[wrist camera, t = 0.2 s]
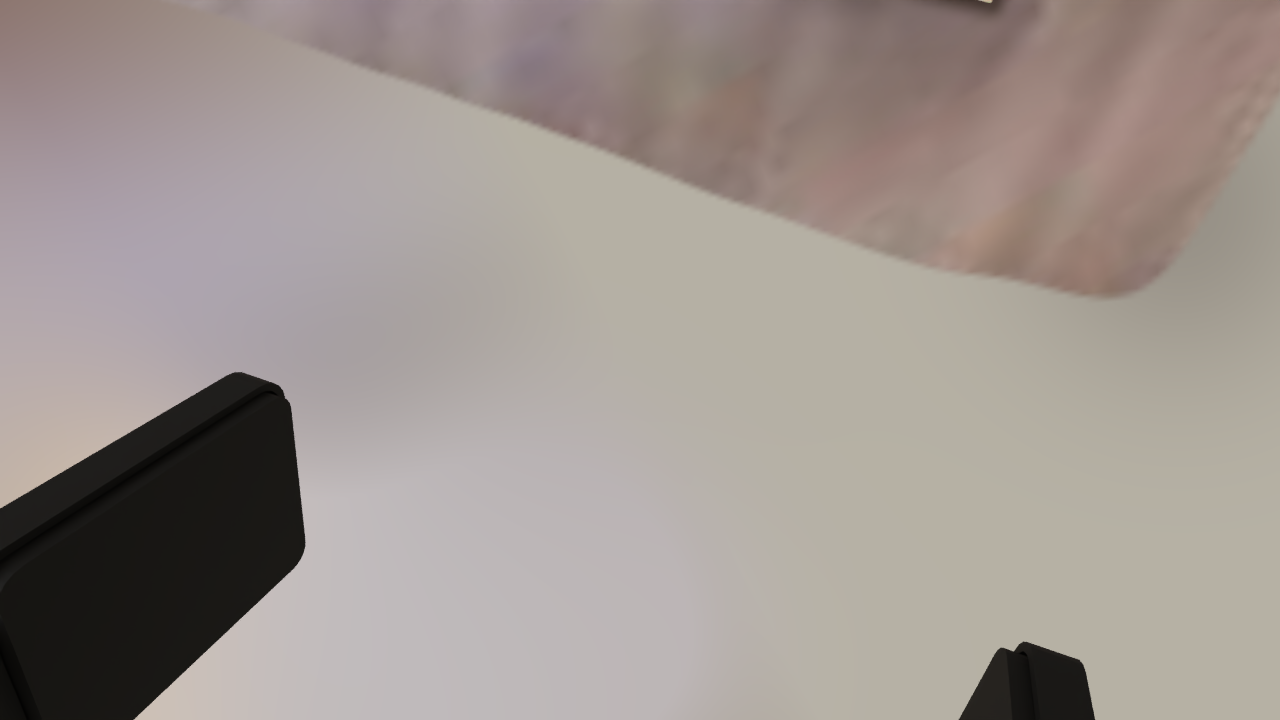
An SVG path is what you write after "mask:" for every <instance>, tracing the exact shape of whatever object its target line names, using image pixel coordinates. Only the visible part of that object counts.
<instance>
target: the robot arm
mask: <svg viewBox="0 0 1280 720" xmlns="http://www.w3.org/2000/svg"><path fill="white" fill-rule="evenodd" d="M303 524H304V523H303V514H302V505H301V497H300V486H299V478H298V468H297V458H296V449H295V440H294V431H293V421H292V412H291V406H290V403H289V402H288V400H287V399H285V396H284V393H283V390H282V389H281V388H280V386H279V385H276V384H274V383H272V382H269V381H266V380H263V379H260V378H257V377H254V376H251V375H248V374H245V373H242V372H235V373H232V374H229V375H227V376H225V377H224V378H222V379H220V380H218V381H217V382H215V383H213V384H212V385H210V386H208V387H207V388H205V389H203V390H201V391H200V392H198V393H196V394H195V395H193V396H191V397H190V398H188V399H186V400H184V401H183V402H181V403H179V404H178V405H176V406H174V407H172V408H171V409H169V410H168V411H166V412H164V413H162V414H161V415H159V416H157V417H156V418H154V419H152V420H150V421H149V422H147V423H145V424H144V425H142V426H140V427H138V428H137V429H135V430H133V431H132V432H130V433H128V434H127V435H125V436H123V437H121V438H120V439H118V440H116V441H115V442H113V443H111V444H110V445H108V446H106V447H105V448H103V449H101V450H99V451H98V452H96V453H94V454H92V455H91V456H89V457H87V458H86V459H84V460H82V461H81V462H79V463H77V464H75V465H74V466H72V467H70V468H69V469H67V470H65V471H64V472H62V473H60V474H58V475H57V476H55V477H53V478H52V479H50V480H48V481H46V482H45V483H43V484H41V485H40V486H38V487H36V488H35V489H33V490H31V491H30V492H28V493H26V494H24V495H23V496H21V497H19V498H18V499H16V500H14V501H13V502H11V503H9V504H7V505H6V506H4V507H3V508H0V720H134V719H135V718H136V717H137V716H138V715H139V714H140V713H141V712H142V711H143V710H144V709H145V708H146V707H147V706H149V705H150V704H151V703H152V702H153V701H154V700H155V699H156V698H157V697H158V696H159V695H160V694H161V693H162V692H163V691H164V690H165V689H167V688H168V687H169V686H170V685H171V684H172V683H173V682H174V681H175V680H176V679H177V678H178V677H179V676H180V675H181V674H182V673H184V672H185V671H186V670H187V669H188V668H189V667H190V666H191V665H192V664H193V663H194V662H195V661H196V660H197V659H198V658H199V657H200V656H201V655H203V653H205V652H206V651H207V650H208V649H209V648H210V647H211V646H212V645H213V644H214V643H215V642H216V641H217V640H218V639H219V638H221V637H222V636H223V635H224V634H225V633H226V632H227V631H228V630H229V629H230V628H231V627H232V626H233V625H234V624H235V623H236V622H238V621H239V619H241V618H242V617H243V616H244V615H245V614H246V613H247V612H248V611H249V610H250V609H251V608H252V607H253V606H254V605H256V604H257V603H258V602H259V601H260V600H261V599H262V598H263V597H264V596H265V595H266V594H267V593H268V592H269V591H270V590H271V589H273V588H274V587H275V586H276V585H277V584H278V583H279V582H280V581H281V580H282V579H283V578H284V577H285V576H286V575H287V574H288V573H290V572H291V570H293V569H294V567H295V566H296V565H297V564H298V562H299V561H300V559H301V557H302V555H303V553H304V549H305V533H304V525H303ZM959 720H1095V717H1094V712H1093V708H1092V702H1091V697H1090V692H1089V687H1088V682H1087V676H1086V672H1085V669H1084V666H1083V664H1082V663H1081V662H1080V660H1078V659H1075V658H1072V657H1069V656H1066V655H1063V654H1060V653H1057V652H1054V651H1051V650H1049V649H1046V648H1043V647H1040V646H1037V645H1034V644H1031V643H1028V642H1022V643H1021V644H1019V645H1018V647H1017V648H1016V650H1015V651H1014V652H1013V651H1010V650H1008V649H1005V648H1000V649H999V650H997V652H996V653H995V655H994V657H993V658H992V660H991V662H990V664H989V666H988V668H987V669H986V671H985V673H984V675H983V677H982V679H981V680H980V682H979V684H978V686H977V688H976V689H975V691H974V693H973V695H972V697H971V699H970V700H969V702H968V704H967V706H966V708H965V710H964V711H963V713H962V715H961V717H960V719H959Z"/></svg>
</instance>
